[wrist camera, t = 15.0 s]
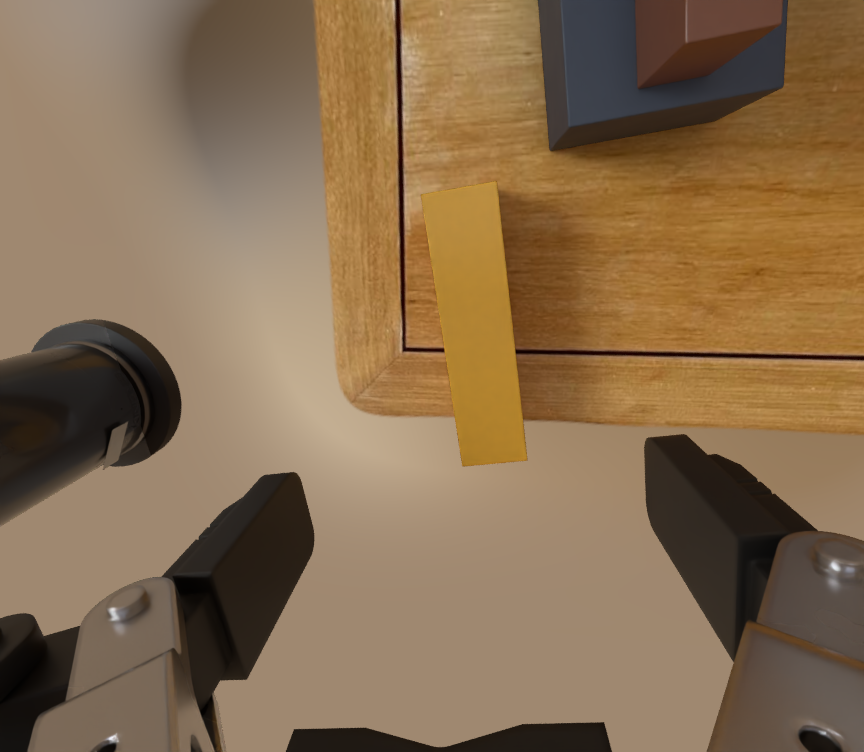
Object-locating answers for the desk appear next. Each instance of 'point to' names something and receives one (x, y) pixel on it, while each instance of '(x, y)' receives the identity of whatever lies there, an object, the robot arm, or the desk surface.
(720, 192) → the desk surface
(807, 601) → the robot arm
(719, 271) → the desk surface
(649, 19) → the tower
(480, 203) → the bar
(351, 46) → the desk surface
